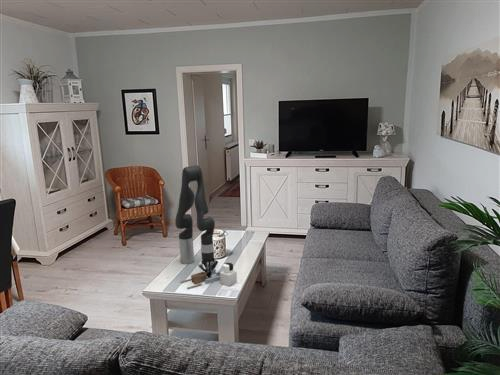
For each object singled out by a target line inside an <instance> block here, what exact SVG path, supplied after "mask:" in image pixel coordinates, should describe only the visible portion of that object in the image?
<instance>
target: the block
mask: <svg viewBox="0 0 500 375" xmlns="http://www.w3.org/2000/svg"><path fill="white" fill-rule="evenodd" d="M190 276H191V278H190V279H192V280H191V283H193V284H194V285H198V284H203V283H205V280H206V279H208V277H207V274H206V273H204V271H202V272H198V273H194V274H191V275H190Z"/></svg>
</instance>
